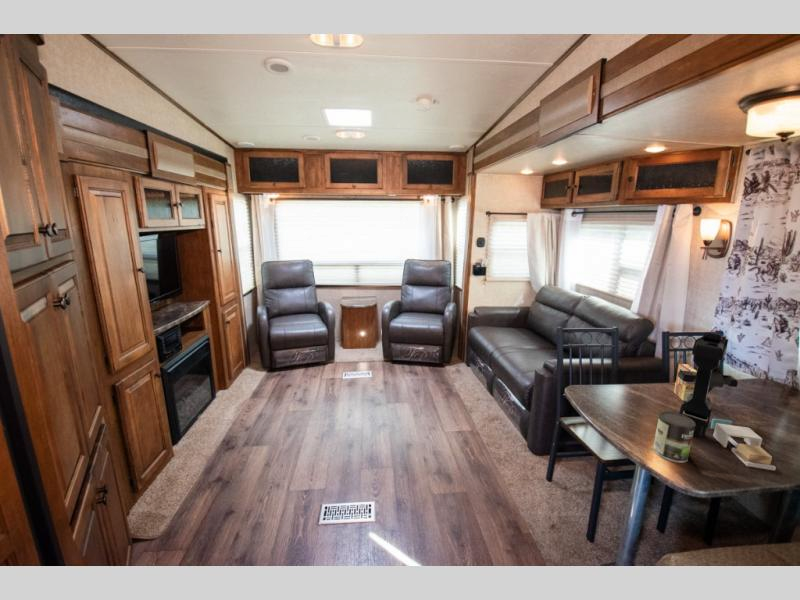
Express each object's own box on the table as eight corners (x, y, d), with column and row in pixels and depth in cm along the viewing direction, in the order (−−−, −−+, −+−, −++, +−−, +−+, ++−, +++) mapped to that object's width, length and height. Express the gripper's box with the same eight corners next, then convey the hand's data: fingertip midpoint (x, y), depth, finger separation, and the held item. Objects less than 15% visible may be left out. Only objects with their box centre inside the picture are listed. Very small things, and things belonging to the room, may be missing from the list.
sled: (746, 467, 116) (749, 455, 115) (707, 428, 138) (710, 417, 137) (774, 472, 114) (778, 459, 113) (730, 432, 136) (733, 421, 135)
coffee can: (694, 458, 121) (702, 423, 118) (677, 466, 117) (684, 429, 114) (663, 441, 131) (669, 408, 127) (646, 448, 127) (652, 414, 123)
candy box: (692, 402, 160) (699, 371, 157) (682, 400, 161) (688, 370, 158) (682, 393, 168) (688, 364, 165) (672, 392, 169) (678, 363, 166)
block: (747, 464, 117) (750, 453, 116) (736, 453, 122) (738, 443, 121) (769, 467, 115) (772, 457, 114) (757, 456, 120) (759, 446, 120)
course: (738, 465, 118) (742, 447, 116) (700, 426, 140) (704, 412, 139) (775, 471, 115) (780, 453, 114) (731, 431, 137) (734, 416, 136)
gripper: (692, 368, 138) (685, 402, 142) (750, 373, 132) (741, 409, 136) (680, 357, 148) (674, 390, 152) (733, 362, 143) (725, 396, 146)
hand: (703, 396), depth 146 cm, fingers closed
